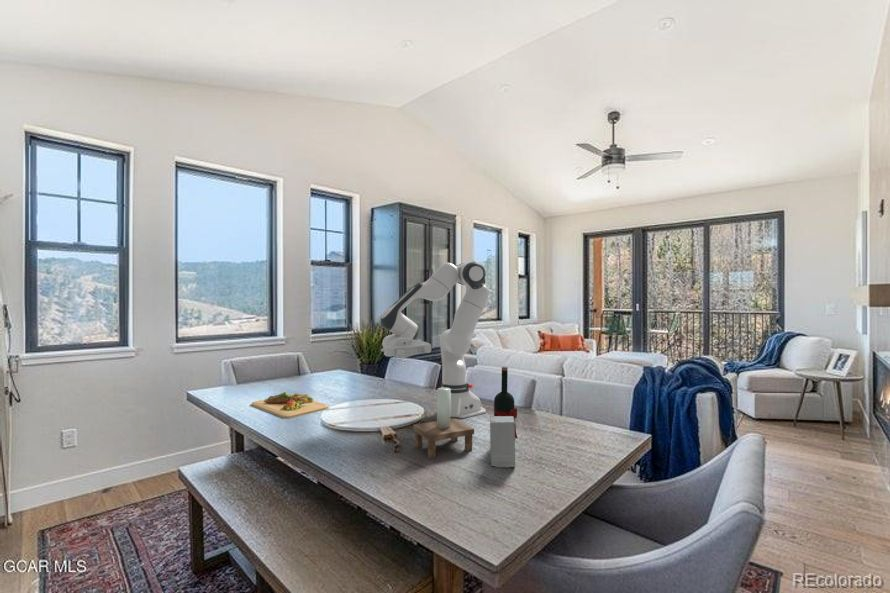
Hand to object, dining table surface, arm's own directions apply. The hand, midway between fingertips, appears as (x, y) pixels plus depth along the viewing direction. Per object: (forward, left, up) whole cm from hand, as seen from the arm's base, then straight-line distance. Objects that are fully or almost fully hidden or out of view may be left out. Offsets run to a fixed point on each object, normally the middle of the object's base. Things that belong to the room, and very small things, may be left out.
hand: (414, 352), depth 181 cm
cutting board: (+40, -62, -34) cm, 81 cm away
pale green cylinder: (-3, +21, -25) cm, 33 cm away
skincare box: (-14, +43, -33) cm, 56 cm away
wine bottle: (-24, +31, -33) cm, 51 cm away
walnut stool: (-3, +21, -33) cm, 39 cm away
